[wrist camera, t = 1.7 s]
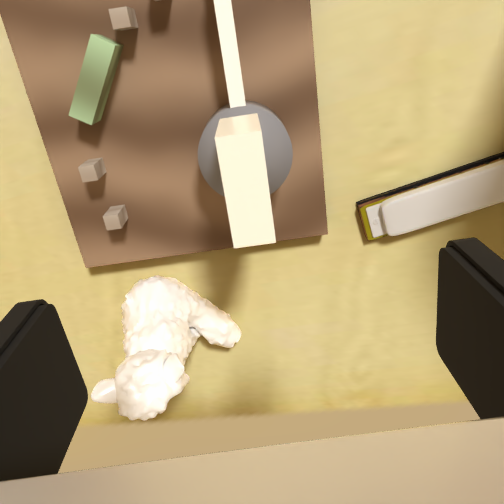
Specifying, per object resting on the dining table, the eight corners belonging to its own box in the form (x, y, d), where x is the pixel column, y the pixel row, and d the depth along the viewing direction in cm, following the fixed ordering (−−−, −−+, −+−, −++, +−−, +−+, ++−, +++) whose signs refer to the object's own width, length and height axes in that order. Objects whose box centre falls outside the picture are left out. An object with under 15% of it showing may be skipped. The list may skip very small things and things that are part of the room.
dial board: (1, -18, 27) (-31, -27, 24) (300, -68, 26) (309, -84, 23) (91, 258, 35) (76, 280, 31) (324, 226, 34) (332, 245, 31)
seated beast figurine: (145, 369, 39) (109, 493, 28) (91, 291, 36) (27, 399, 25) (244, 331, 38) (245, 447, 27) (197, 246, 34) (177, 340, 24)
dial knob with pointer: (291, 180, 30) (314, 241, 21) (210, 192, 31) (197, 257, 21) (267, -41, 25) (284, -91, 16) (169, -25, 25) (127, -65, 16)
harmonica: (554, 132, 32) (573, 137, 30) (556, 172, 33) (574, 179, 31) (354, 199, 34) (361, 209, 32) (364, 235, 35) (370, 246, 33)
